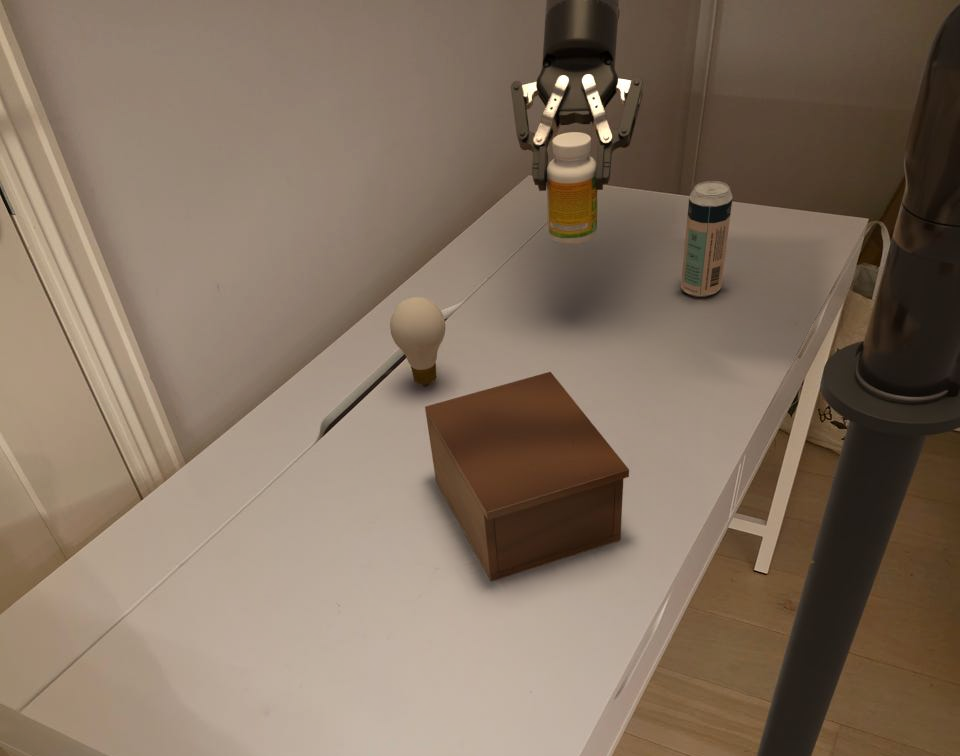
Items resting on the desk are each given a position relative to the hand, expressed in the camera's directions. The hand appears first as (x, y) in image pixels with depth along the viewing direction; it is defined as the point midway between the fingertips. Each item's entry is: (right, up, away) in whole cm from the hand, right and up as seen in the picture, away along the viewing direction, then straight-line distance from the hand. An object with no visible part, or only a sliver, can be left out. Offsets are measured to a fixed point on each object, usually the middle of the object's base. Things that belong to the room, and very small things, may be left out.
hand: (570, 186), depth 92 cm
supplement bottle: (+1, -3, +6) cm, 6 cm away
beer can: (+18, -5, +16) cm, 24 cm away
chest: (-5, -35, -9) cm, 37 cm away
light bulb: (-16, -19, +7) cm, 25 cm away
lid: (-6, -30, -15) cm, 34 cm away
